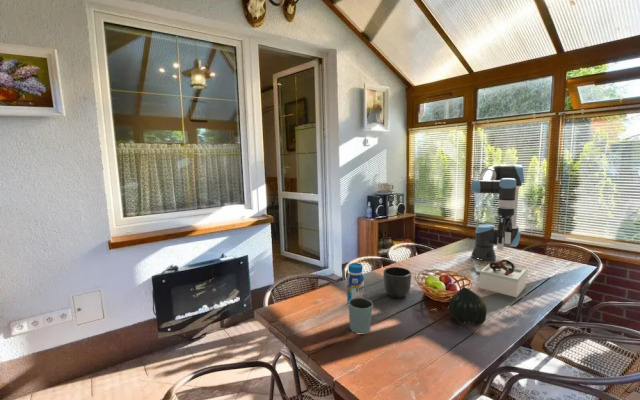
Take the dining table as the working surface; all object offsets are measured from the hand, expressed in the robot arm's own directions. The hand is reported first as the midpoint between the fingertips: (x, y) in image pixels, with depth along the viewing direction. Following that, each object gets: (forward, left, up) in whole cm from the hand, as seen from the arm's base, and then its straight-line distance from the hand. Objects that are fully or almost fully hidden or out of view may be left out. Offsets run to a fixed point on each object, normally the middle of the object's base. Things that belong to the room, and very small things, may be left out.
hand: (503, 246), depth 172 cm
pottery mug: (+1, 0, -15) cm, 15 cm away
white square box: (+1, +1, -23) cm, 23 cm away
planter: (+48, -36, -23) cm, 64 cm away
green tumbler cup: (+87, -30, -23) cm, 95 cm away
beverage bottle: (+70, -46, -23) cm, 87 cm away
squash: (+50, 0, -23) cm, 55 cm away
